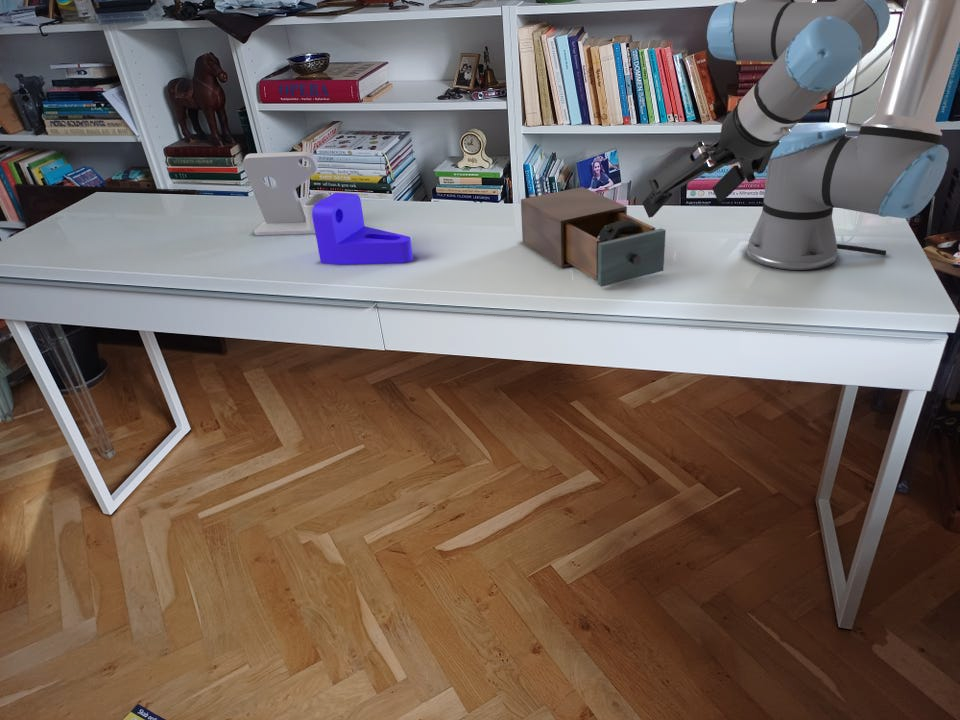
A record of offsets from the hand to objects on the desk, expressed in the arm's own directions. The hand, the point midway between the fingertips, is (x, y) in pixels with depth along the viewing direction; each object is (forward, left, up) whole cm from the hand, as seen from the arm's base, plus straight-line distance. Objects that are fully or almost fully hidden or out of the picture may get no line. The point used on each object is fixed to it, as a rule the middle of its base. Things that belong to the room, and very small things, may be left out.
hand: (682, 202), depth 119 cm
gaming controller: (+14, -4, -11) cm, 18 cm away
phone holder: (+90, +6, -16) cm, 92 cm away
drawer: (+14, -3, -15) cm, 21 cm away
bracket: (+60, +12, -16) cm, 63 cm away
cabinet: (+26, -10, -15) cm, 32 cm away
